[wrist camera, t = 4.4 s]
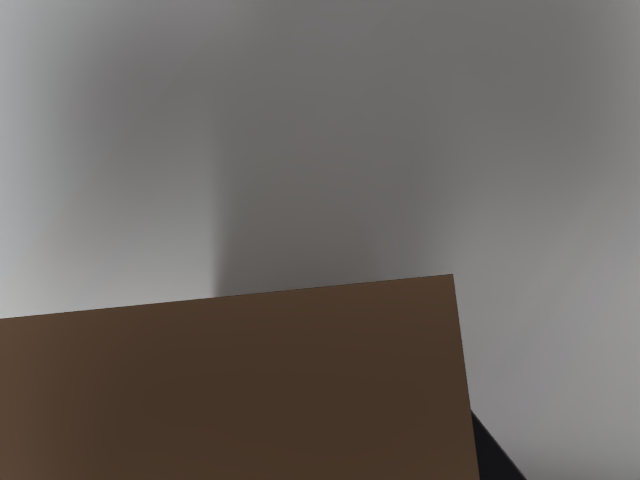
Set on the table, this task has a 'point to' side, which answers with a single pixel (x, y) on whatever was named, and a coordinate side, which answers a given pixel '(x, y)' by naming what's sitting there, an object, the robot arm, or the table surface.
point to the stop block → (242, 388)
